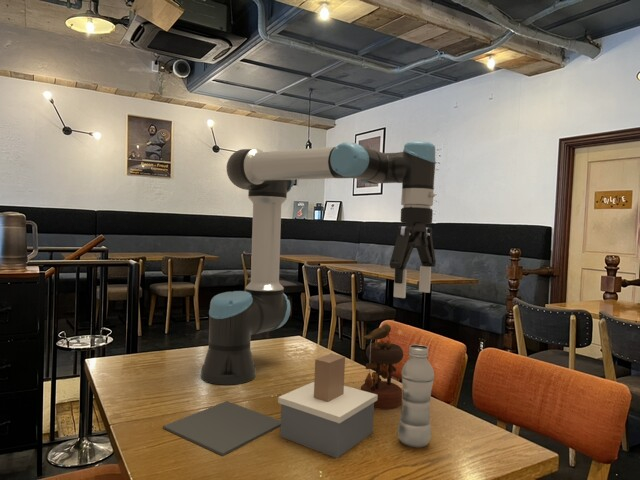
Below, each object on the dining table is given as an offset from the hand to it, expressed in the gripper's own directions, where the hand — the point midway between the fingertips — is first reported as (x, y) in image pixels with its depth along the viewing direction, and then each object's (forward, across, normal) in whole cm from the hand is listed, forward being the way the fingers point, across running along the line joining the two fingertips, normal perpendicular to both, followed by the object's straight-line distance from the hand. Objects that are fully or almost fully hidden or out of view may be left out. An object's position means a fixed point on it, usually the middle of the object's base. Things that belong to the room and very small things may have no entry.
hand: (412, 294), depth 112 cm
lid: (+21, -25, +6) cm, 33 cm away
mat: (+28, -37, +24) cm, 52 cm away
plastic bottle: (+28, -16, -10) cm, 34 cm away
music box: (+28, 0, +7) cm, 29 cm away
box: (+28, -25, +6) cm, 38 cm away
